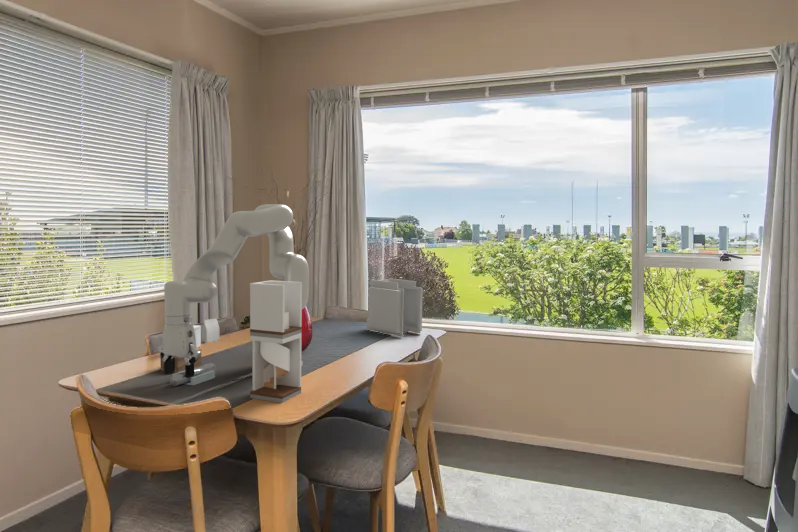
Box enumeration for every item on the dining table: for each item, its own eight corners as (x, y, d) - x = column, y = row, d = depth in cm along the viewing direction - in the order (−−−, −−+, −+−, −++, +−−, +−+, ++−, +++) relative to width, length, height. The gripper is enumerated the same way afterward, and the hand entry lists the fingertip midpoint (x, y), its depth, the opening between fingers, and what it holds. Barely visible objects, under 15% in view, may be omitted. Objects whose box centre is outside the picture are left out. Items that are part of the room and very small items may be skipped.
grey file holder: (386, 326, 291) (387, 277, 289) (423, 334, 272) (424, 281, 270) (361, 330, 279) (362, 279, 277) (398, 339, 260) (399, 283, 258)
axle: (208, 373, 190) (207, 362, 190) (216, 373, 189) (215, 363, 188) (169, 386, 174) (169, 374, 174) (178, 386, 173) (177, 375, 173)
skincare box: (192, 358, 216) (192, 328, 215) (183, 357, 217) (182, 327, 216) (201, 355, 222) (201, 325, 221) (191, 354, 223) (191, 324, 222)
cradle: (215, 381, 184) (215, 370, 184) (193, 389, 175) (192, 378, 175) (194, 378, 188) (194, 367, 188) (171, 386, 179) (171, 374, 178)
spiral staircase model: (250, 397, 168) (250, 283, 166) (270, 388, 178) (270, 280, 176) (282, 402, 164) (282, 285, 162) (301, 393, 174) (301, 282, 172)
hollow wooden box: (201, 369, 199) (201, 349, 199) (178, 377, 189) (178, 355, 189) (184, 367, 203) (184, 346, 202) (160, 374, 192) (160, 353, 192)
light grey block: (219, 340, 249) (219, 318, 248) (206, 343, 243) (206, 320, 243) (214, 339, 251) (214, 317, 250) (201, 342, 245) (201, 319, 245)
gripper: (208, 320, 174) (209, 375, 176) (166, 316, 181) (167, 369, 182) (190, 324, 167) (192, 381, 169) (147, 320, 174) (149, 374, 175)
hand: (179, 374), depth 176 cm, fingers open, 8 cm apart
